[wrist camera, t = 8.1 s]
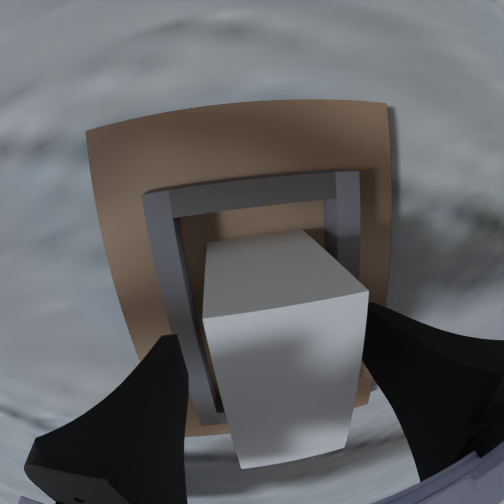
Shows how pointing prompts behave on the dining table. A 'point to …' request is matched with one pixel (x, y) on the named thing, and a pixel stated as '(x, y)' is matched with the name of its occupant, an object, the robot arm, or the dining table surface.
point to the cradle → (236, 210)
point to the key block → (283, 344)
